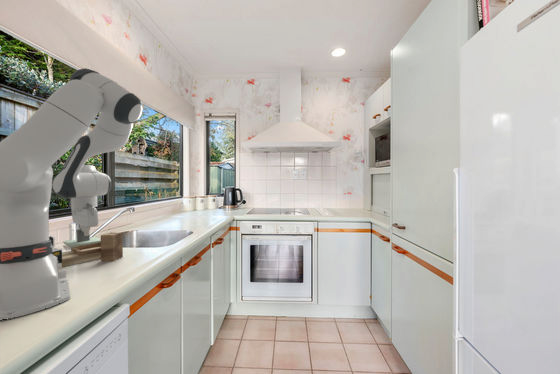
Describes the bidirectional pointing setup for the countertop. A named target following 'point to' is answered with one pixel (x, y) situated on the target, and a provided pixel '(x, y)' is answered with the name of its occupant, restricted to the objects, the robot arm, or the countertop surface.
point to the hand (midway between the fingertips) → (85, 235)
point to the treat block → (111, 246)
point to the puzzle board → (81, 254)
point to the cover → (82, 240)
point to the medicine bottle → (56, 250)
